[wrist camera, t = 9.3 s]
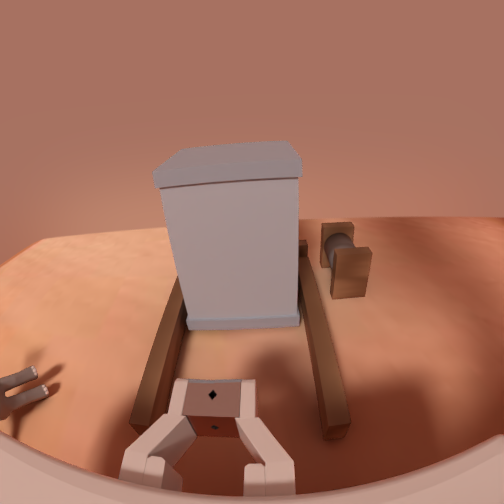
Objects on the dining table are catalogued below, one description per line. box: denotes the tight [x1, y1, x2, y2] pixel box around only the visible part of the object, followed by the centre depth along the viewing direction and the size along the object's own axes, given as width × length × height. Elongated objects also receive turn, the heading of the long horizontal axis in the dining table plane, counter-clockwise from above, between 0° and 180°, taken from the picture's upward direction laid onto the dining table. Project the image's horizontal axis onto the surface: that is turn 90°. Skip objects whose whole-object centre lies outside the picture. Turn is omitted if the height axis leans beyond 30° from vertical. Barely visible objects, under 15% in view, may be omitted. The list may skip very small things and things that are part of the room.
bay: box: [129, 222, 372, 440], centre depth 20 cm, size 16×19×4 cm
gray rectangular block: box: [152, 141, 302, 330], centre depth 22 cm, size 8×7×12 cm
